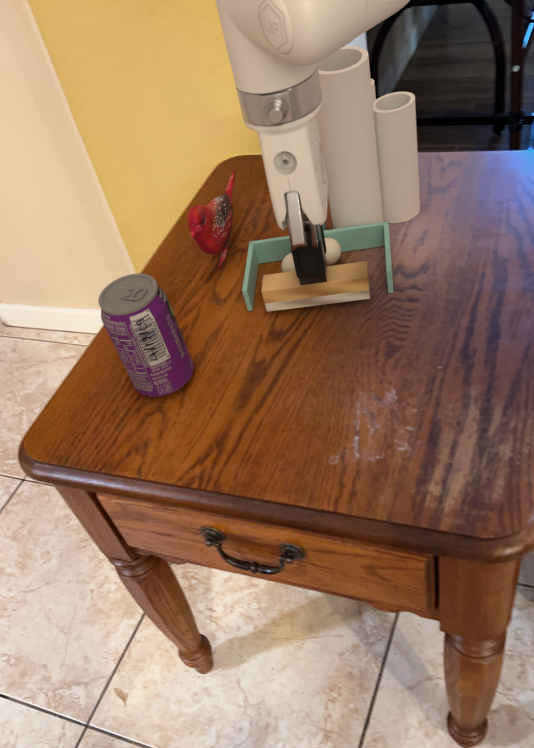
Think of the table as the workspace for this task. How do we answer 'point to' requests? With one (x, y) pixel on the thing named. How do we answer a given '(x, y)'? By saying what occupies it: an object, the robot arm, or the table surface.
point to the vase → (366, 144)
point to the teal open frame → (345, 237)
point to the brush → (316, 285)
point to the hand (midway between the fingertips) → (312, 263)
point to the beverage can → (146, 334)
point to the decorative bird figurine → (213, 223)
